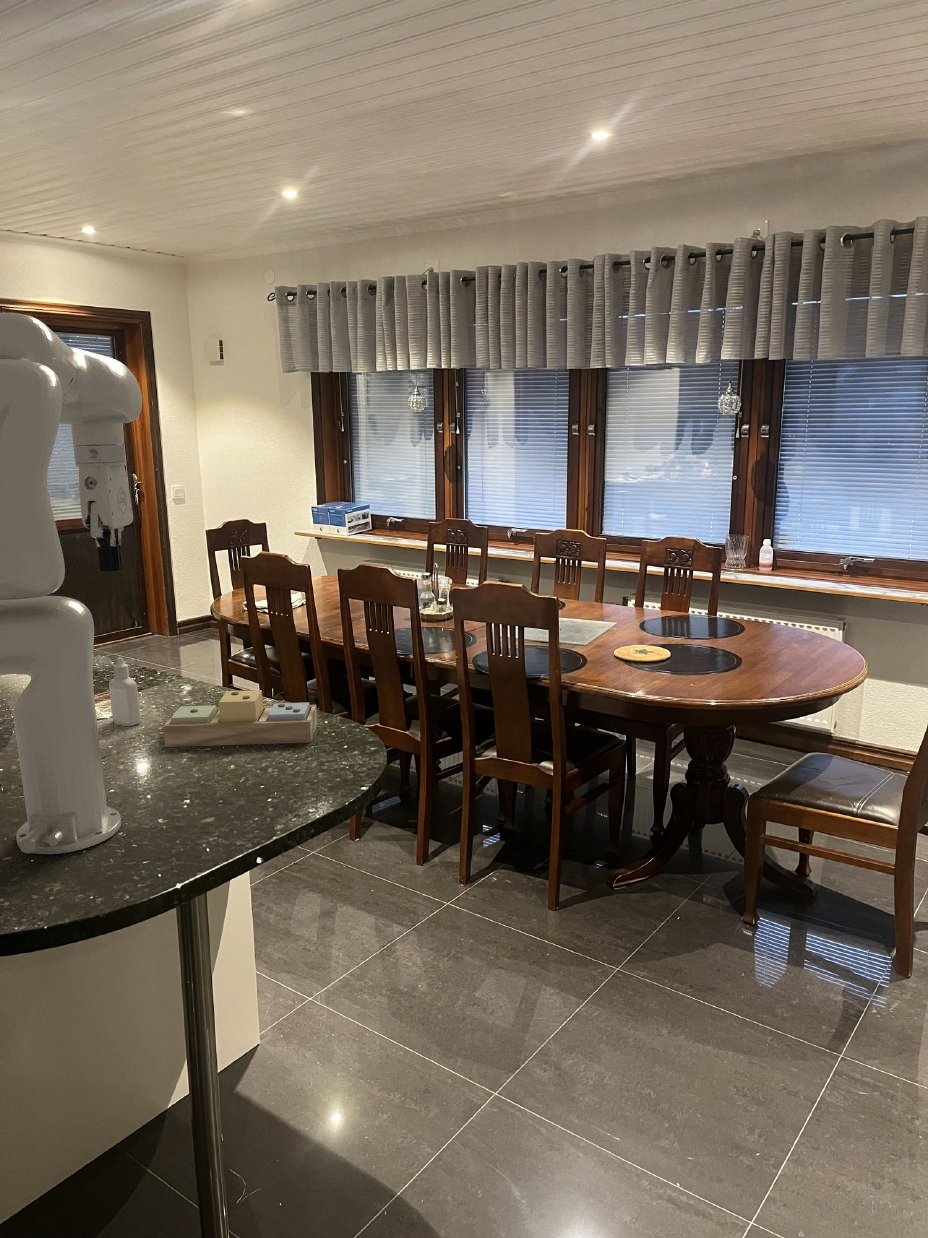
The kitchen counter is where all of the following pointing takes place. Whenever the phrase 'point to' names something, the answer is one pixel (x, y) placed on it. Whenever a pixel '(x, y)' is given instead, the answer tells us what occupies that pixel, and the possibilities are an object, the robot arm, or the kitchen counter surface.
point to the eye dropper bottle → (124, 696)
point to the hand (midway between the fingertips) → (111, 570)
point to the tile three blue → (289, 711)
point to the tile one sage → (194, 714)
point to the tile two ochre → (241, 706)
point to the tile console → (241, 731)
